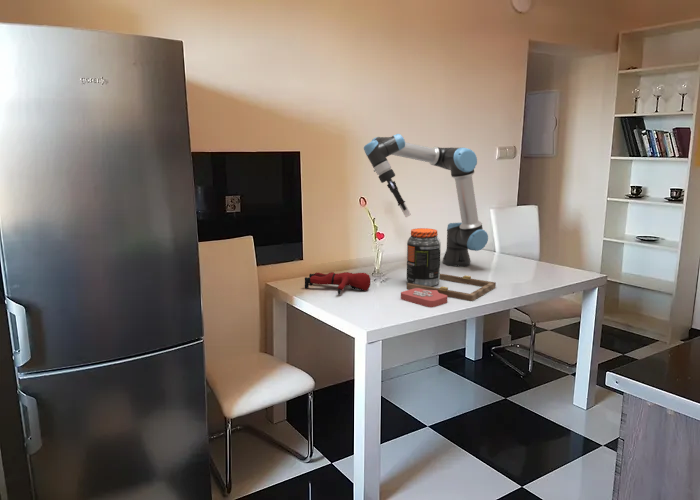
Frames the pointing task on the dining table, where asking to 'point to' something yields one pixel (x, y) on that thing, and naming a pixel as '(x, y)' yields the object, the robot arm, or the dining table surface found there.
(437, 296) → the plaque
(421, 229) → the supplement tub
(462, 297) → the beam slot
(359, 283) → the toy
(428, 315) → the dining table surface
